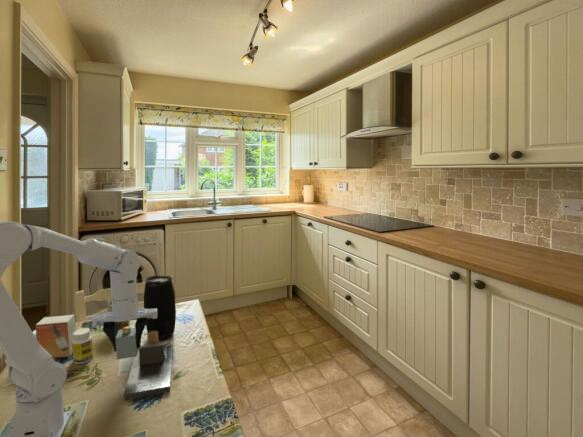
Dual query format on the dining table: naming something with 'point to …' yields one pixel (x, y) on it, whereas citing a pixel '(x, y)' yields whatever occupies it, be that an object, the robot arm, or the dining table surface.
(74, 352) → the supplement bottle
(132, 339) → the block
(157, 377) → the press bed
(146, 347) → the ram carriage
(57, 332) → the small box
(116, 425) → the dining table surface
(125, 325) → the food container
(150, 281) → the portable speaker
